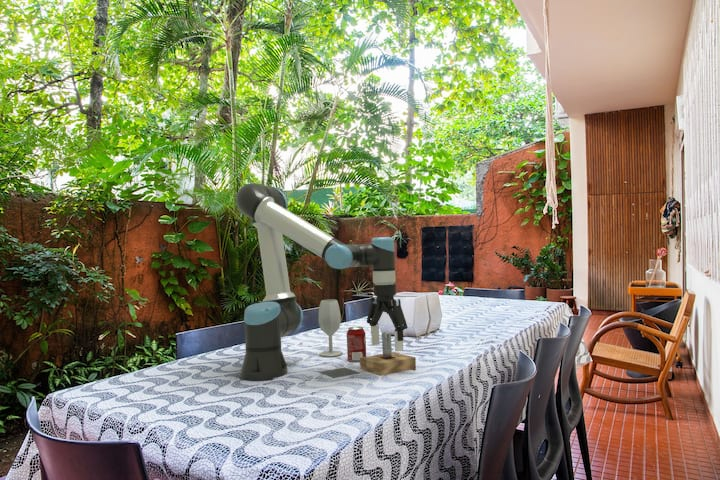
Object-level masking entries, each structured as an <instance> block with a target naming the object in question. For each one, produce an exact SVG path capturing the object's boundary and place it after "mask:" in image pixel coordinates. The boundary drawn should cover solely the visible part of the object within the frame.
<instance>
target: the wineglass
mask: <svg viewBox="0 0 720 480" xmlns="http://www.w3.org/2000/svg"><path fill="white" fill-rule="evenodd" d="M318 307H319V308H318V325H319V329H320V330H321V331H322V332H323V333H324V334H325V335H327V336H328V350H325V351H321V352H319V353H318V355H319V356H321V357H324V358H325V357H329V358H333V357H340V356H341V355H343V351H341V350H334V348H333V345H334V344H333V336H334V334H335V333H337V331H338V330H339V329H340V327H341V322H342V316H341V315H342V314H341V310H340V305H339V302H338V300H337V299H323V300H320V304H319V306H318Z"/></svg>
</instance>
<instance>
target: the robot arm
mask: <svg viewBox="0 0 720 480" xmlns="http://www.w3.org/2000/svg"><path fill="white" fill-rule="evenodd" d="M235 203H236V207H237V209H238V210H239V211H240V213H242V214H243V215H244V216H246V217H247V218H250V220H251V223H252V226H253V227H254V228H256V230H257V237H258V244H259V250H260V251H259V252H260V259H261V265H262V271H263V281H264V288H265V297H264V298H263V299H262V301H261V302H256V303H252V304H250V305H248V306H247V307H245V309H244V316H243V322H244V340H245V355H244V356H243V357H244V358H243V361H242V365H241V368H240V378H241V379H243V380H247V381H269V380H274V379H276V378H277V379H278V378H280V377H283V376H286V375H287V374H288V364H287V362H286V359H285V357H284V354H283V350H282V337H285V336H290V335H291V334H293V333H295V332H296V331H297V330H298V329H299V328H300V327H301V325H302V323H303V320H304V312H303V309H302V308H301V306H300V305H299V304H298V303H297V297H296V295H295V294H294V293H293V292H292V291H291V286H290V279H289V272H288V266H287V265H288V264H287V258H286V251H285V243H284V236H285V237H287V238H288V239H291V241H294V242H295V243H296V244H298V245H300V246H301V247H303V248H305V249H307V250H308V251H310V252H311V253H313V254H314V255H316V256H318V257H320V258H321V259H323V260H324V261H325V262H326V264H327V265H328V266H329V267H330V268H332V269H336V270H343V269H348V268H357V267H372V283H373V284H374V285H373V295H374V296H373V297H370V305H369V306H370V307H369V310H368V315H367V319H366V323H367V324H369V326H370V334H371V336H370V337H371V346H380V343H381V341H380V324H379V321H380V319H381V317H382V315H383V313H385V314H387V315H388V316H389V319H390V321H391V322H392V325H393V326H394V328H395V329H394V330H393V331H394V334H393V335H394V352H396V353H398V352H403V351H404V330H406V329H408V323H407V320H406V318H405V314H404V312H403V308H402V305H401V304H402V303H401V299H400V298H397V299H395V298H394V296H396V295H397V285H396V279H397V278H396V257H395V256H396V254H395V253H396V250H395V241H394V238H393V237H390V236H385V237H383V236H382V237H373V238H372V239H371V242H370V243H363V244H362V243H361V244H360V243H359V244H358V243H357V244H345V243H344V242H342V241H341V240H338V239H337V238H335V237H333V236H332V235H330V234H329V233H327V232H325V231H323V230H321V229H320V228H319V227H317V226H315V225H314V224H311V223H310V222H309V221H307V220H306V219H303V218H302V217H300V216H298V215H297V214H295V213H294V212H292V211H290V210H288V200H287V197H286V195H285V194H284V192H283V191H281V190H280V189H278V188H277V187H276V186H275V187H274V186H272V185H266V184H261V183H257V182H256V183H255V182H250V183H246V184H245V185H243V186H242V187H240V188H239V190H238V191H237V193H236V197H235ZM283 235H284V236H283Z"/></svg>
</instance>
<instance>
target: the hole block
mask: <svg viewBox="0 0 720 480" xmlns="http://www.w3.org/2000/svg"><path fill="white" fill-rule="evenodd" d="M416 360H417V359H416V357H415V356H410V355H407V354H403V353H400V352H396V351H392V359H387V360H385V359H383V353H380V354H375V355H374V354H373V355H369V356H366V357H362V358H360V362H359V364H360V365H359V366H360V370H362V371H365V372H368V373H371V374H375V375H378V376H386V375H391V374H395V373H401V372H407V371H416V370H417V365H416V364H417V362H416Z"/></svg>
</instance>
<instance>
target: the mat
mask: <svg viewBox="0 0 720 480" xmlns="http://www.w3.org/2000/svg"><path fill="white" fill-rule="evenodd" d="M318 373H320V374H322V375H325V376H327V377H329V378H332V379H338V378H341V377H347V376H352V375H357V374H358V375H359V374H361V372H360V371H356V370H354V369H351V368H348V367H340V368H334V369H328V370H322V371H319V372H318Z"/></svg>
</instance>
